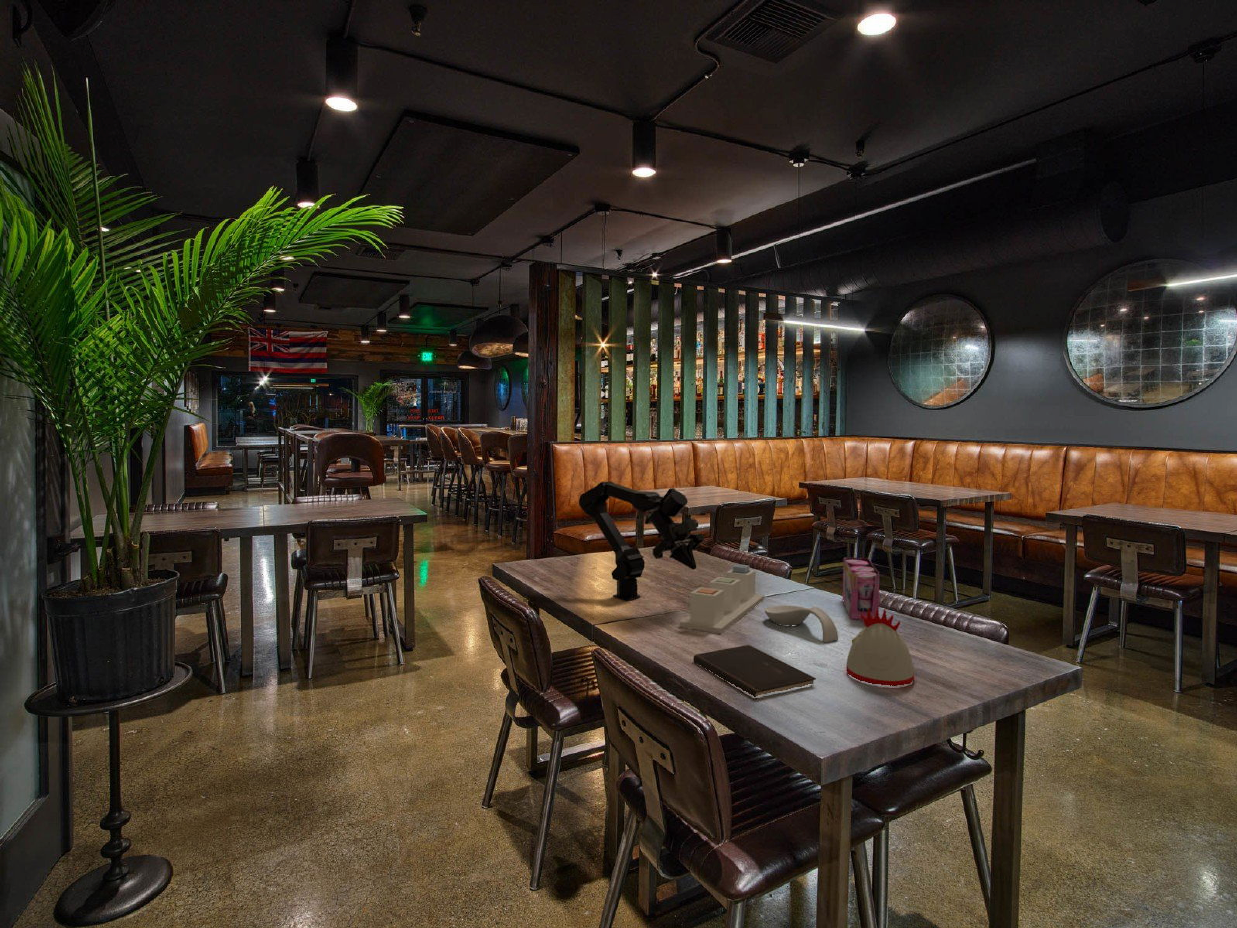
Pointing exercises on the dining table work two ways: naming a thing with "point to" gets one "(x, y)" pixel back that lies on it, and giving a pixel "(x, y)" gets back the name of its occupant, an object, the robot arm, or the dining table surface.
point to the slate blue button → (741, 568)
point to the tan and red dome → (880, 653)
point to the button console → (722, 603)
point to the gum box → (860, 587)
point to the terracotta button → (707, 591)
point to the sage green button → (725, 580)
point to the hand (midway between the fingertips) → (695, 568)
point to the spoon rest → (802, 618)
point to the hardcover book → (753, 670)
